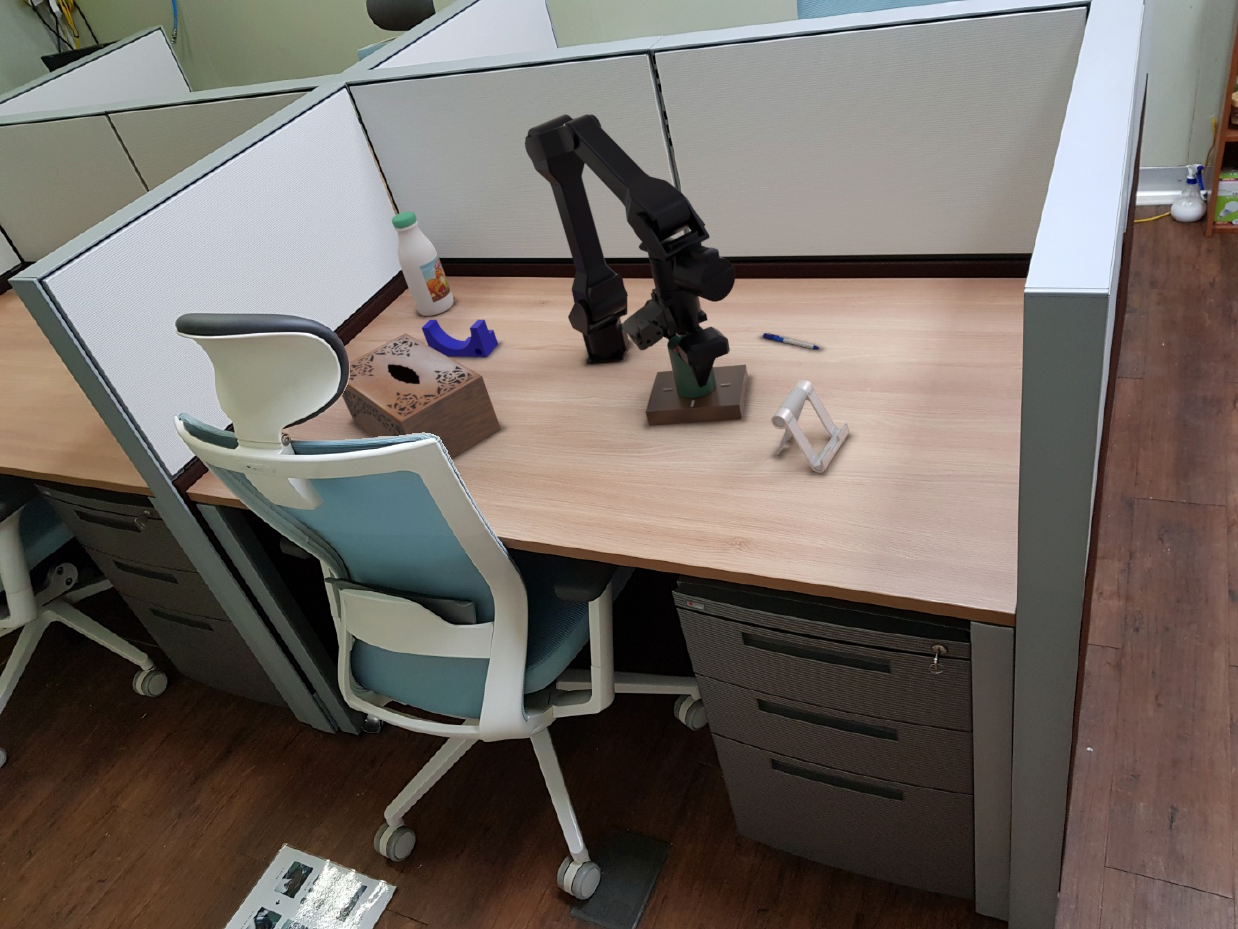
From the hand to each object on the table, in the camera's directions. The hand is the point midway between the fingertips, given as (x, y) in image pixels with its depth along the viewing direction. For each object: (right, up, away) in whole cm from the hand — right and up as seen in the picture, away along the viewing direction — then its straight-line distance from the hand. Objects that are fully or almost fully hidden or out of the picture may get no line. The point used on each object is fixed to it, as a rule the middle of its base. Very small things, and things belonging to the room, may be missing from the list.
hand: (694, 376), depth 138 cm
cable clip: (-40, +8, +33) cm, 52 cm away
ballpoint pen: (+16, +6, +11) cm, 20 cm away
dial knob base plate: (+1, -4, +3) cm, 4 cm away
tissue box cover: (-43, -7, +15) cm, 46 cm away
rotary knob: (0, -2, +1) cm, 2 cm away
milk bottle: (-49, +19, +52) cm, 73 cm away
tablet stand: (+15, -11, -13) cm, 23 cm away
